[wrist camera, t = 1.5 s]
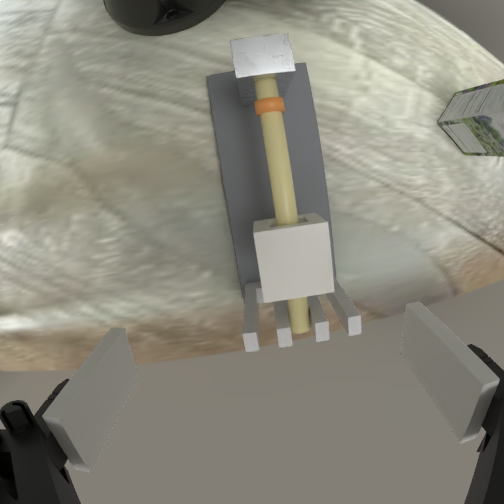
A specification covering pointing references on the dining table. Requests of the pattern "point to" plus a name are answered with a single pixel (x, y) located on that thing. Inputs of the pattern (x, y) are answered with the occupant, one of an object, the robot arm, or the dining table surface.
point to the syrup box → (477, 120)
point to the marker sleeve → (294, 258)
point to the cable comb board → (255, 162)
